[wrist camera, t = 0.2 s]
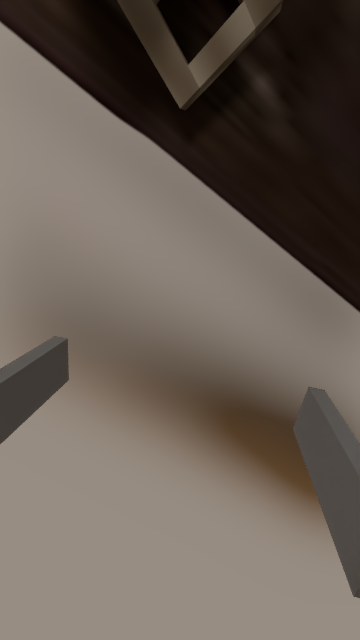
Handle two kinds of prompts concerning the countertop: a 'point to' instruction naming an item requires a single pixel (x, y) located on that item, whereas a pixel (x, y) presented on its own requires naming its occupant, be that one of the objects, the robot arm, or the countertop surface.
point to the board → (229, 41)
